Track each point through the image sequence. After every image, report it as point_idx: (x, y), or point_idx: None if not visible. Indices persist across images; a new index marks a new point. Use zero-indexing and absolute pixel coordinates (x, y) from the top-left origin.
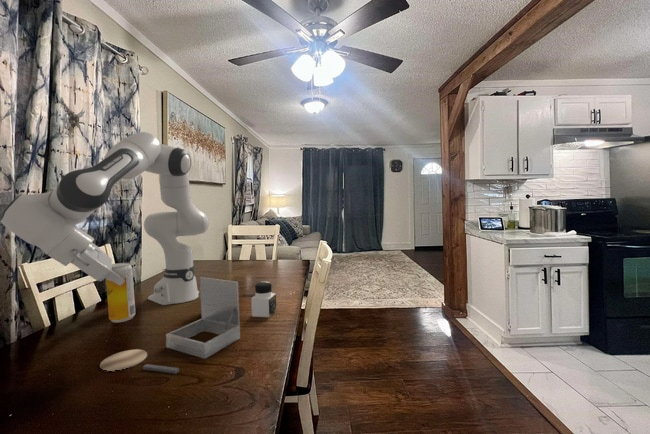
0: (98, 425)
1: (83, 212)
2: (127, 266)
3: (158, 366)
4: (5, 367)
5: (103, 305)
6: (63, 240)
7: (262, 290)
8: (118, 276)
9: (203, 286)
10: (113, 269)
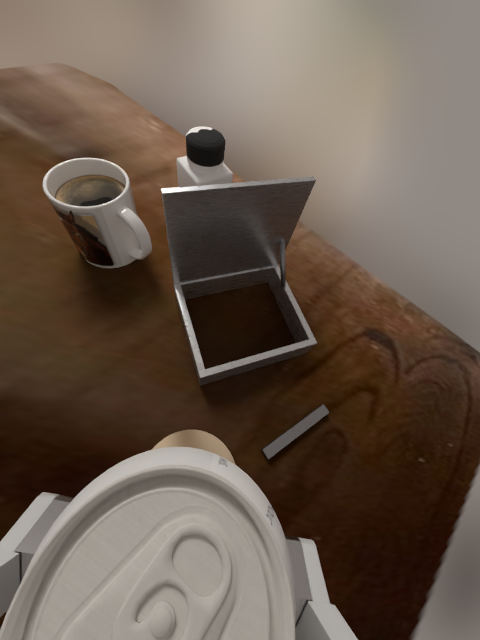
0: (424, 586)
1: None
2: (266, 516)
3: (291, 432)
4: None
5: None
6: None
7: (219, 157)
8: (341, 621)
9: (180, 217)
10: None
